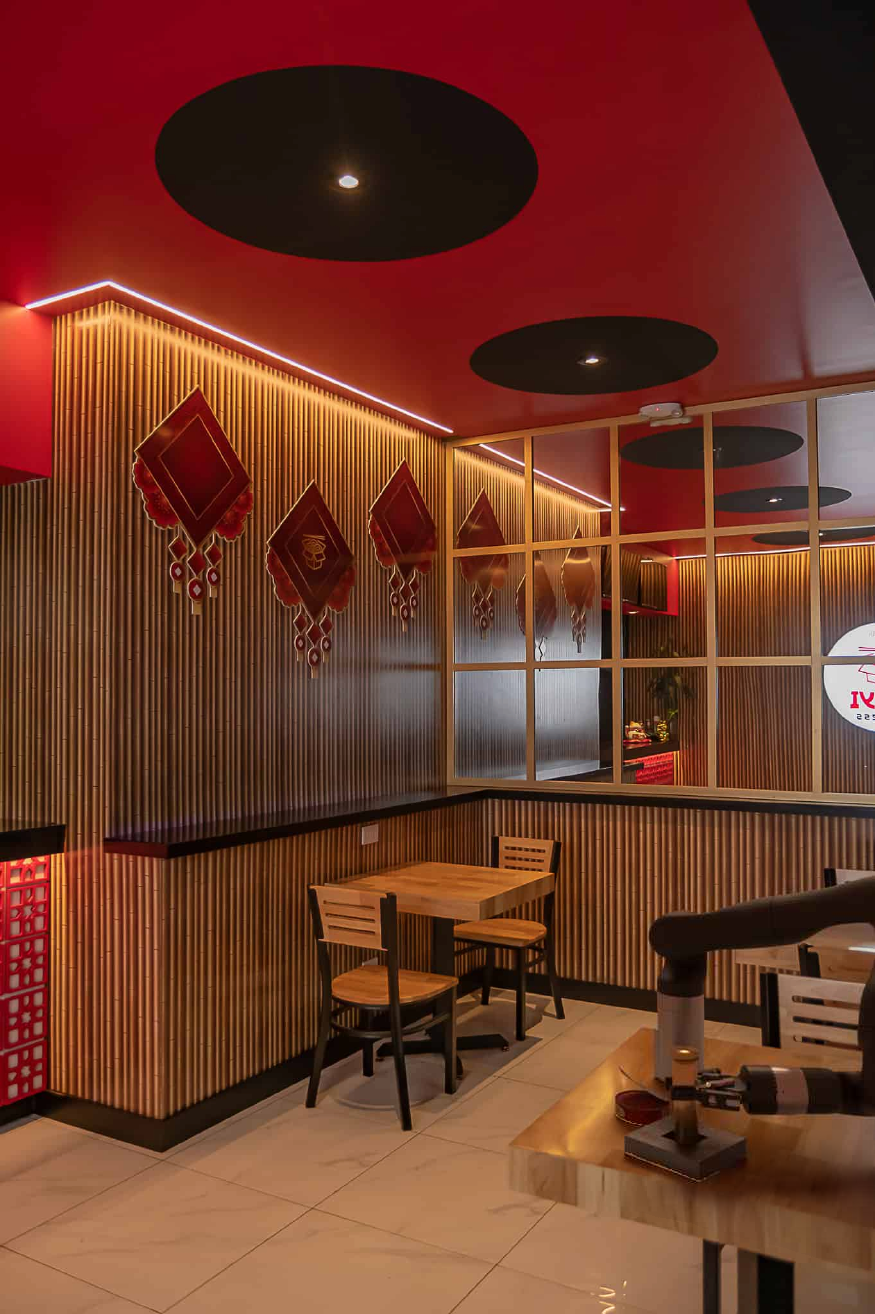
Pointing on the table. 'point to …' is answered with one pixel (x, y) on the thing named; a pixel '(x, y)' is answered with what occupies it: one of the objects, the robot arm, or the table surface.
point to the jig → (686, 1148)
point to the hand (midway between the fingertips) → (668, 1088)
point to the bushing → (685, 1110)
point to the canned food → (641, 1105)
